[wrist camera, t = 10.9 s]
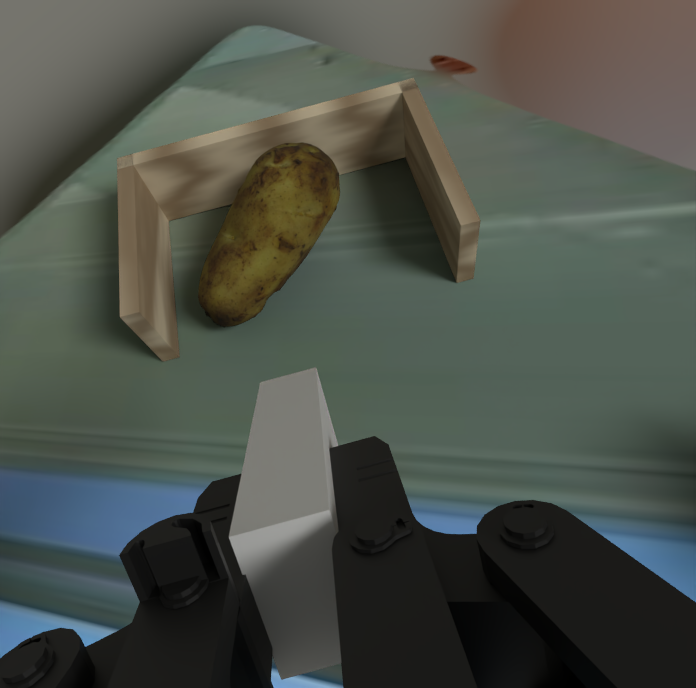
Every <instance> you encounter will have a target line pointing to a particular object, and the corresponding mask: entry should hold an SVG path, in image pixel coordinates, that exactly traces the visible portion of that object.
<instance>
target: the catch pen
mask: <svg viewBox="0 0 696 688" xmlns="http://www.w3.org/2000/svg"><path fill="white" fill-rule="evenodd" d="M301 142H303V143H308V144H312V145H314V146H316V147H318V148H319V149H321V150H322V151H323V152H324V153H325V154H327V155H328V156H329V157H330V158H331V159H332V161H333V162H334V164H335V166H336V168H337V170H338V172H339V175H341V174H345V173H349V172H353V171H356V170H360V169H364V168H367V167H371V166H375V165H379V164H382V163H386V162H390V161H393V160H397V159H401V158H405V157H406V160H407V162H408V165H409V167H410V170H411V172H412V175H413V177H414V180H415V182H416V184H417V187H418V189H419V192H420V194H421V197H422V199H423V202H424V204H425V206H426V209H427V211H428V214H429V216H430V219H431V221H432V224H433V226H434V229H435V231H436V233H437V236H438V238H439V241H440V243H441V246H442V248H443V251H444V253H445V256H446V258H447V260H448V263H449V265H450V268H451V270H452V273H453V275H454V278H455V280H456V283H458V282H462V281H466V280H469V279H473V277H474V269H475V261H476V252H477V244H478V236H479V227H480V219H479V216H478V214H477V212H476V210H475V208H474V206H473V204H472V202H471V199H470V197H469V195H468V193H467V191H466V189H465V187H464V184H463V182H462V180H461V178H460V176H459V174H458V172H457V170H456V167H455V165H454V163H453V161H452V159H451V157H450V155H449V152H448V150H447V148H446V146H445V144H444V142H443V140H442V138H441V135H440V133H439V131H438V129H437V127H436V125H435V123H434V121H433V118H432V116H431V114H430V112H429V110H428V108H427V106H426V103H425V101H424V99H423V97H422V95H421V93H420V91H419V89H418V86H417V84H416V82H415V80H414V78H412V79H408V80H405V81H401V82H397V83H393V84H390V85H386V86H382V87H379V88H375V89H371V90H368V91H364V92H360V93H356V94H353V95H349V96H345V97H342V98H338V99H334V100H331V101H327V102H323V103H319V104H316V105H312V106H308V107H305V108H301V109H297V110H294V111H290V112H286V113H282V114H279V115H275V116H271V117H268V118H264V119H260V120H257V121H253V122H249V123H245V124H242V125H238V126H234V127H231V128H227V129H223V130H220V131H216V132H212V133H208V134H205V135H201V136H197V137H194V138H190V139H186V140H183V141H179V142H175V143H171V144H168V145H164V146H160V147H157V148H153V149H149V150H146V151H142V152H138V153H134V154H131V155H127V156H123V157H120V158H117V178H118V235H119V293H120V318H121V319H122V320H123V321H124V322H125V323H126V324H127V325H128V326H129V327H130V328H131V329H132V330H133V331H134V332H135V333H136V334H137V335H138V336H139V337H140V338H141V339H142V340H143V341H144V342H145V344H146V345H147V346H148V347H149V348H150V349H151V350H152V351H153V352H154V353H155V354H156V355H157V356H158V357H159V358H160V359H161V360H162V361H167V360H170V359H174V358H178V357H179V345H178V332H177V320H176V307H175V295H174V282H173V270H172V257H171V245H170V232H169V221H171V220H174V219H178V218H182V217H186V216H189V215H193V214H197V213H200V212H204V211H208V210H211V209H215V208H219V207H223V206H226V205H230V204H232V203H233V201H234V199H235V197H236V195H237V193H238V189H239V188H240V187H241V186H242V185H243V183H244V181H245V179H246V177H247V175H248V173H249V171H250V169H251V167H252V166H253V164H254V163H255V161H256V160H257V159H258V158H259V157H260V156H261V155H262V154H263V153H265V152H266V151H268V150H269V149H271V148H273V147H275V146H278V145H281V144H284V143H301Z"/></svg>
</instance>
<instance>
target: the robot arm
mask: <svg viewBox="0 0 696 688" xmlns="http://www.w3.org/2000/svg"><path fill="white" fill-rule="evenodd" d="M119 556H120V558H121V560H122V562H123V565H124V567H125V569H126V571H127V574H128V576H129V578H130V580H131V583H132V585H133V587H134V589H135V592H136V594H137V596H138V598H139V601H140V603H139V606H138V608H137V611H136V614H135V616H134V619H133V621H132V623H131V624H129V625H128V626H126V627H124V628H122V629H121V630H119V631H117V632H115V633H113V634H111V635H109V636H107V637H105V638H103V639H101V640H99V641H97V642H95V643H93V644H91V645H89V646H87V647H85V646H84V644H83V642H82V640H81V638H80V636H79V635H78V634H77V633H76V632H75V631H74V630H73V629H65V628H58V629H54V630H50V631H46V632H42V633H40V634H38V635H35V636H33V637H32V638H29V639H27V640H25V641H23V642H21V643H20V644H19V645H18V646H16V647H15V648H14V649H12V650H11V651H9V652H8V653H7V654H5V655H4V656H3V657H2V658H1V659H0V688H273V685H272V682H271V668H272V656H273V658H274V661H275V664H276V666H277V669H278V672H279V675H280V677H281V680H282V679H285V678H289V677H293V676H296V675H300V674H304V673H307V672H311V671H314V670H318V669H322V668H325V667H329V666H333V665H336V664H340V663H341V664H342V676H343V687H344V688H696V602H694V601H693V600H691V599H690V598H689V597H687V596H686V595H684V594H683V593H682V592H680V591H679V590H677V589H676V588H675V587H673V586H672V585H670V584H669V583H668V582H666V581H665V580H663V579H662V578H661V577H659V576H658V575H656V574H655V573H654V572H652V571H651V570H649V569H648V568H647V567H645V566H644V565H642V564H641V563H640V562H638V561H637V560H635V559H634V558H633V557H631V556H630V555H628V554H627V553H626V552H624V551H623V550H621V549H620V548H619V547H617V546H616V545H614V544H613V543H611V542H610V541H609V540H607V539H606V538H604V537H603V536H602V535H600V534H599V533H597V532H596V531H595V530H593V529H592V528H590V527H589V526H588V525H586V524H585V523H583V522H582V521H581V520H579V519H578V518H576V517H575V516H574V515H572V514H571V513H569V512H568V511H566V510H564V509H562V508H560V507H558V506H556V505H554V504H552V503H547V502H541V501H536V500H527V501H514V502H510V503H507V504H504V505H500V506H497V507H496V508H494V509H493V510H491V511H490V512H488V513H487V514H485V515H484V517H483V518H482V520H481V521H480V522H479V524H478V525H477V534H444V533H440V532H436V531H433V530H430V529H428V528H426V527H424V526H423V525H421V524H420V523H419V522H418V521H417V520H416V519H415V517H414V515H413V513H412V511H411V508H410V505H409V502H408V499H407V496H406V494H405V491H404V488H403V485H402V482H401V479H400V476H399V474H398V471H397V468H396V465H395V462H394V460H393V457H392V454H391V451H390V448H389V445H388V444H387V443H385V442H383V441H382V440H380V439H379V438H377V437H376V436H373V437H370V438H366V439H362V440H358V441H355V442H351V443H347V444H344V445H340V446H338V443H337V440H336V436H335V433H334V429H333V426H332V422H331V419H330V415H329V412H328V408H327V404H326V401H325V397H324V394H323V390H322V387H321V383H320V380H319V376H318V373H317V369H316V368H312V369H308V370H305V371H301V372H297V373H293V374H290V375H286V376H282V377H278V378H275V379H271V380H267V381H263V382H260V387H259V391H258V396H257V401H256V406H255V411H254V416H253V421H252V426H251V430H250V435H249V440H248V445H247V450H246V455H245V460H244V465H243V469H242V474H239V475H235V476H232V477H228V478H224V479H220V480H217V481H213V482H212V483H211V484H210V485H209V486H208V487H207V488H206V489H205V491H204V492H203V493H202V494H201V495H200V496H199V497H198V500H197V503H196V506H195V509H194V512H193V513H187V514H181V515H175V516H173V517H170V518H167V519H165V520H162V521H159V522H157V523H155V524H154V525H152V526H150V527H148V528H147V529H145V530H143V531H142V532H140V533H139V534H138V535H137V536H136V537H135V538H133V539H132V540H131V541H130V542H129V543H128V544H127V545H126V546H125V548H124V549H123V551H122V552H121V553H120V555H119Z"/></svg>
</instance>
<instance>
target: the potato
mask: <svg viewBox="0 0 696 688" xmlns="http://www.w3.org/2000/svg"><path fill="white" fill-rule="evenodd" d="M339 196H340V187H339V172H338V170H337V168H336V166H335V164H334V162H333V161H332V159H331V158H330V157H329V156H328V155H327V154H325V153H324V152H323V151H322V150H321V149H319V148H318V147H316V146H314V145H312V144H308V143H303V142H301V143H284V144H281V145H278V146H275V147H273V148H271V149H269V150H268V151H266V152H265V153H263V154H262V155H261V156H260V157H259V158H258V159H257V160H256V161H255V163H254V164H253V166H252V167H251V169H250V171H249V173H248V175H247V177H246V179H245V181H244V183H243V185H242V186H241V187H240V188H239V189H238V193H237V195H236V197H235V199H234V201H233V203H232V205H231V207H230V209H229V212H228V214H227V216H226V218H225V221H224V223H223V225H222V227H221V229H220V231H219V233H218V235H217V237H216V240H215V242H214V244H213V246H212V248H211V250H210V252H209V254H208V256H207V258H206V261H205V264H204V267H203V270H202V273H201V278H200V283H199V292H198V298H199V302H200V305H201V307H202V308H203V309H204V310H205V313H206V315H207V316H209V317H210V318H211V319H212V320H213V321H214V322H215V323H216V324H218V325H220V326H222V327H226V326H235V325H239V324H241V323H244V322H246V321H248V320H250V319H251V318H254V317H255V316H256V315H257V314H258V313H259V312H261V310H262V309H263V307H264V306H265V303H266V301H267V299H268V298H269V297H270V296H271V295H272V294H273V293H274V292H277V291H279V290H280V289H281V288H282V287H283V285H284V284H285V283H286V281H287V280H288V279H289V277H290V276H291V275H292V274H293V273H294V272H295V271H296V269H297V268H298V267H299V265H300V264H301V263H302V262H303V260H304V259H305V258H306V256H307V255H308V253H309V252H310V250H311V249H312V247H313V246H314V244H315V242H316V241H317V239H318V237H319V236H320V234H321V233H322V231H323V229H324V227H325V226H326V224H327V223H328V221H329V220H330V218H331V216H332V214H333V212H334V211H335V210H336V208H337V203H338V201H339Z"/></svg>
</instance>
